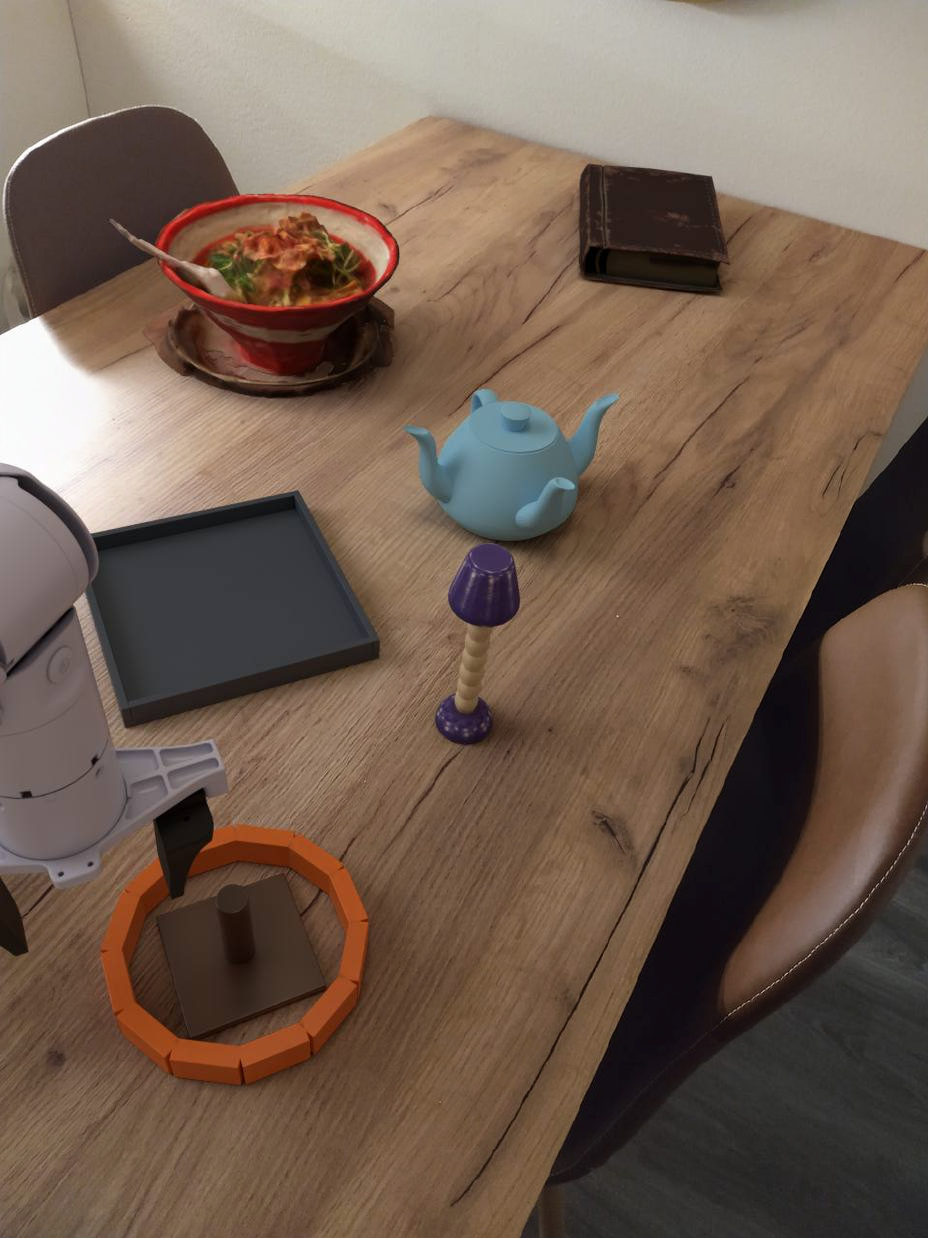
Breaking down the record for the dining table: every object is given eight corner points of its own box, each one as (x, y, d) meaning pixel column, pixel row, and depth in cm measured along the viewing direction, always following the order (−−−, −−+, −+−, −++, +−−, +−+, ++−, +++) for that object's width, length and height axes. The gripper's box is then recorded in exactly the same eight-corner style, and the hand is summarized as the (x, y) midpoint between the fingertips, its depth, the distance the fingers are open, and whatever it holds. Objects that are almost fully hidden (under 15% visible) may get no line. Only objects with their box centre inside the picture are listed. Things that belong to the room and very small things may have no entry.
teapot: (464, 439, 100) (473, 345, 93) (609, 487, 96) (630, 394, 89) (396, 523, 90) (401, 426, 83) (555, 580, 86) (574, 483, 79)
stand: (190, 1043, 57) (177, 990, 52) (156, 921, 62) (141, 863, 57) (326, 989, 60) (325, 935, 55) (284, 877, 65) (279, 818, 60)
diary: (576, 280, 125) (583, 240, 122) (576, 196, 143) (582, 159, 139) (727, 297, 125) (738, 259, 122) (709, 212, 143) (718, 175, 139)
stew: (130, 424, 97) (102, 263, 86) (134, 298, 113) (111, 149, 102) (421, 410, 103) (431, 258, 91) (384, 293, 119) (389, 151, 107)
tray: (125, 728, 72) (120, 710, 70) (74, 556, 84) (69, 537, 82) (379, 657, 79) (380, 639, 77) (299, 507, 90) (298, 489, 89)
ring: (142, 1128, 54) (136, 1111, 52) (87, 893, 63) (80, 873, 61) (402, 1020, 59) (404, 1001, 57) (317, 818, 68) (316, 797, 66)
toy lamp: (509, 720, 75) (541, 551, 64) (476, 761, 72) (502, 592, 61) (455, 690, 77) (476, 520, 65) (420, 730, 74) (435, 558, 62)
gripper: (-152, 883, 37) (-46, 1039, 47) (236, 758, 42) (260, 922, 52) (-163, 742, 42) (-64, 911, 51) (190, 644, 47) (220, 814, 56)
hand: (97, 909), depth 52 cm, fingers open, 7 cm apart
